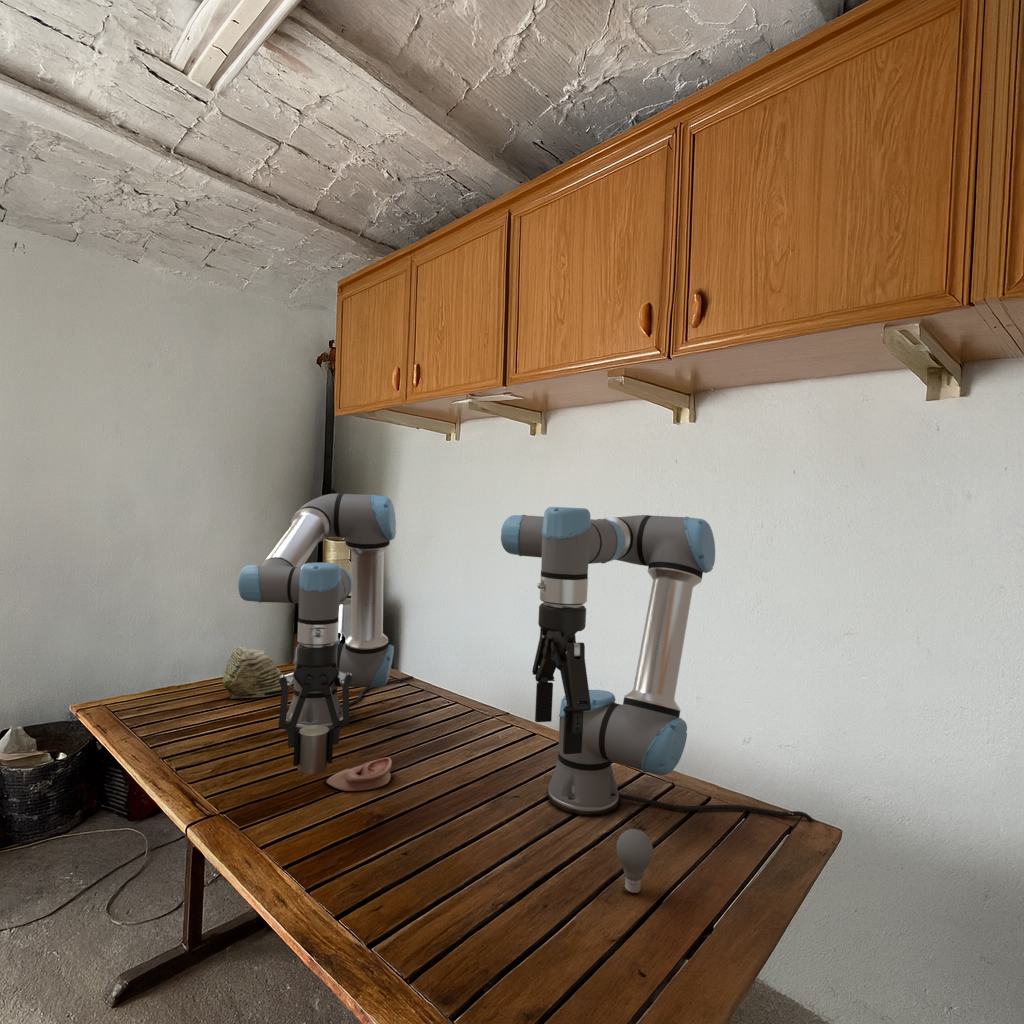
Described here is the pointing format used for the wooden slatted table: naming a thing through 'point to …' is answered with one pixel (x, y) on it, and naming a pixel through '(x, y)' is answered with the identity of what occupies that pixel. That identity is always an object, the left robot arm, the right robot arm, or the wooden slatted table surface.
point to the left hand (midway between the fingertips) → (313, 761)
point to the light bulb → (634, 857)
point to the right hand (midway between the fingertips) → (556, 736)
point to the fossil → (251, 674)
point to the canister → (313, 749)
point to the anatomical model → (363, 776)
